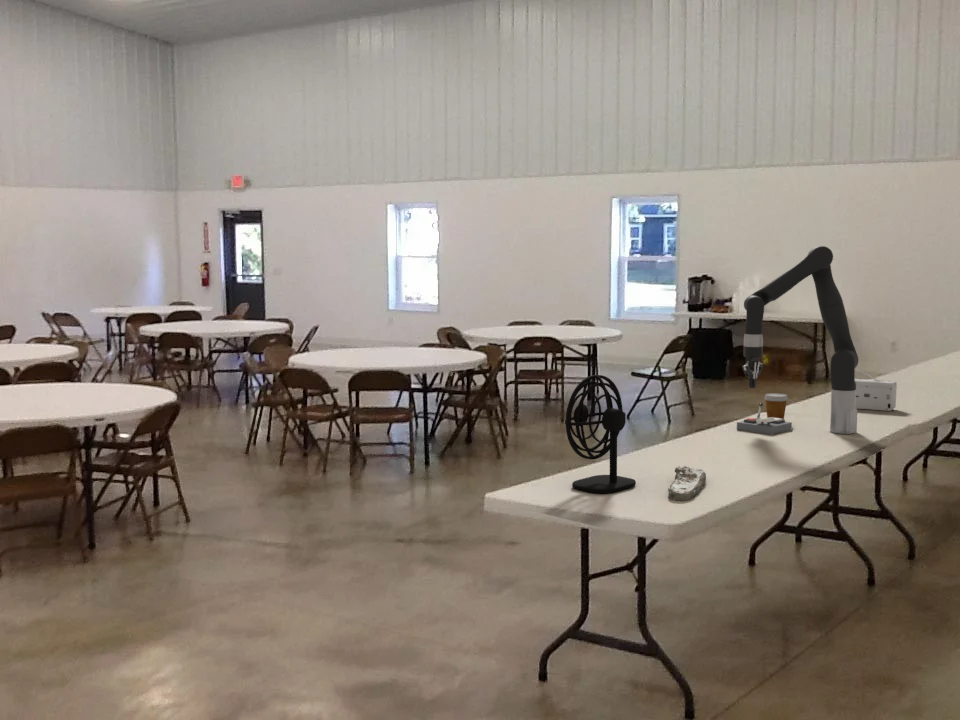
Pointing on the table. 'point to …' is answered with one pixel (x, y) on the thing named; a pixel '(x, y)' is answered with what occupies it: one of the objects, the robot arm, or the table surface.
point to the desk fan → (611, 423)
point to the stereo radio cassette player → (875, 394)
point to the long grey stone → (686, 483)
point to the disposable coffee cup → (775, 405)
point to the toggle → (759, 410)
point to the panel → (764, 426)
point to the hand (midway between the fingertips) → (752, 387)
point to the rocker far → (765, 420)
